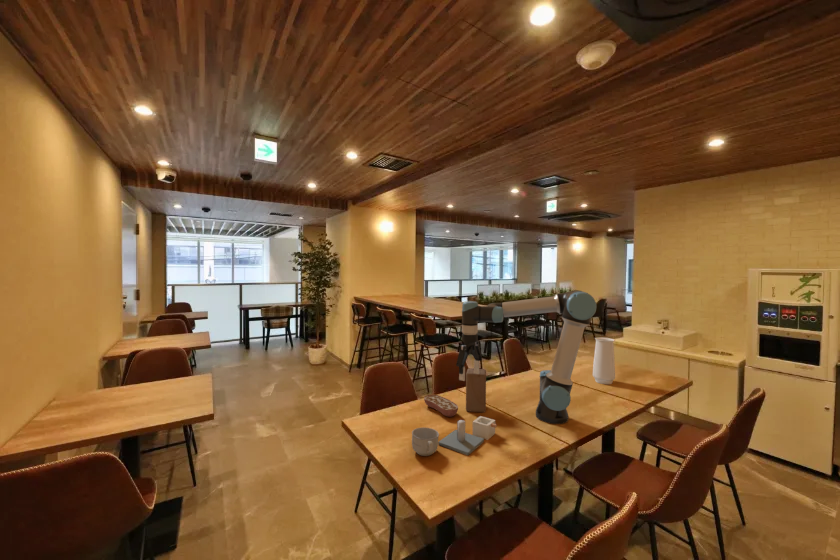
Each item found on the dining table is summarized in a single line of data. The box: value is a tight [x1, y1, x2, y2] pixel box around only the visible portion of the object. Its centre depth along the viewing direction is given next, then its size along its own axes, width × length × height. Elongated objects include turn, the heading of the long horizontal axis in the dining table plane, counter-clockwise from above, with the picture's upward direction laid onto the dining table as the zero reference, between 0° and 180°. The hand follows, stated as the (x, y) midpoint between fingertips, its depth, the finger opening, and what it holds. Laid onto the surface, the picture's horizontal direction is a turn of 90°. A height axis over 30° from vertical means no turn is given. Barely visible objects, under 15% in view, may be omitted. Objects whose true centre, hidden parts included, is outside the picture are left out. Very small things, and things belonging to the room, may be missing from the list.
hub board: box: [438, 419, 485, 456], centre depth 147 cm, size 14×14×9 cm
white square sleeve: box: [472, 415, 497, 441], centre depth 154 cm, size 9×7×6 cm
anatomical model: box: [423, 394, 459, 418], centre depth 180 cm, size 23×10×5 cm, turn 34°
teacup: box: [411, 426, 440, 457], centre depth 138 cm, size 14×11×8 cm
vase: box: [592, 336, 616, 385], centre depth 226 cm, size 13×13×28 cm
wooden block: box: [465, 368, 487, 413], centre depth 183 cm, size 10×10×20 cm
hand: (469, 376), depth 170 cm, fingers open, 13 cm apart
